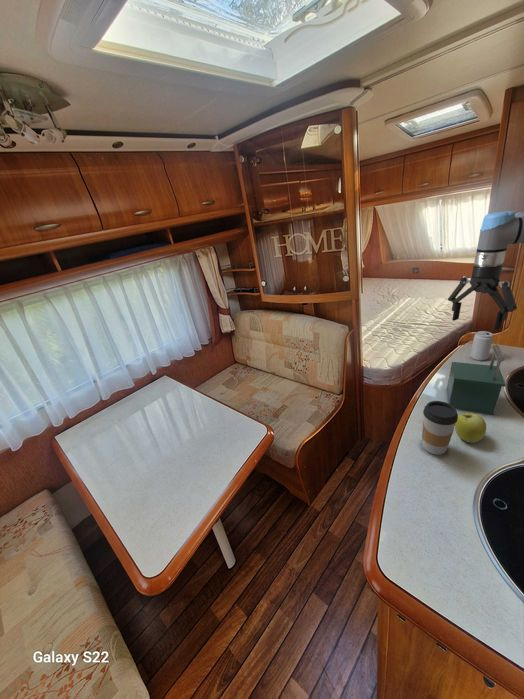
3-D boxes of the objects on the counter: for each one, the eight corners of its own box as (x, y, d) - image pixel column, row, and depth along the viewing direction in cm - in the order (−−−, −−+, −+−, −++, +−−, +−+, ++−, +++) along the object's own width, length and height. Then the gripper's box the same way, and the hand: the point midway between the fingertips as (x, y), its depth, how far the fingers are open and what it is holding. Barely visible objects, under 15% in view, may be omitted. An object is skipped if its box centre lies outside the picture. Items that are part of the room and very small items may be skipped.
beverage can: (490, 361, 118) (497, 336, 113) (474, 361, 120) (479, 337, 114) (483, 354, 124) (488, 330, 118) (467, 354, 125) (472, 331, 120)
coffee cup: (419, 434, 88) (424, 397, 82) (449, 441, 84) (458, 403, 78) (417, 453, 82) (423, 414, 76) (450, 461, 78) (460, 422, 71)
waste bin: (487, 395, 100) (495, 368, 95) (493, 415, 91) (501, 386, 86) (446, 389, 106) (451, 363, 101) (448, 407, 97) (453, 380, 92)
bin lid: (498, 368, 94) (505, 343, 90) (505, 386, 85) (513, 359, 81) (451, 363, 101) (456, 339, 96) (453, 380, 92) (459, 355, 87)
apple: (494, 443, 80) (490, 418, 76) (464, 449, 83) (458, 425, 79) (479, 425, 87) (475, 401, 83) (452, 430, 89) (446, 408, 86)
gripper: (442, 264, 98) (434, 318, 107) (530, 270, 77) (511, 337, 87) (455, 259, 101) (446, 313, 110) (543, 264, 80) (523, 330, 89)
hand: (474, 324), depth 98 cm, fingers open, 13 cm apart
